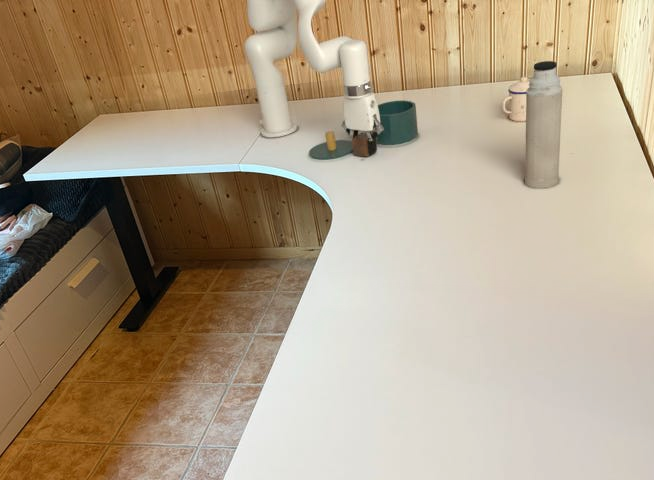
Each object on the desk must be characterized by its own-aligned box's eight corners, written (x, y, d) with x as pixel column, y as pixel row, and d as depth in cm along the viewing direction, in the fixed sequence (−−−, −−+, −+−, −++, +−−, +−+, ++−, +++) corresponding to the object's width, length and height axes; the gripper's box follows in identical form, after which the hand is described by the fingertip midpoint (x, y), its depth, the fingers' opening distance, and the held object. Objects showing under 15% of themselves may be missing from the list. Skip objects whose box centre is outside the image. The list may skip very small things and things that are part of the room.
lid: (300, 157, 207) (296, 137, 204) (333, 141, 214) (330, 121, 211) (331, 164, 198) (328, 144, 194) (365, 147, 205) (363, 127, 201)
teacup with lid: (528, 109, 210) (528, 71, 203) (545, 116, 203) (546, 76, 196) (494, 119, 207) (493, 80, 200) (510, 126, 200) (510, 86, 193)
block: (353, 154, 198) (351, 138, 195) (363, 148, 201) (361, 132, 198) (367, 156, 196) (365, 140, 193) (377, 150, 198) (375, 134, 195)
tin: (365, 143, 208) (361, 112, 203) (394, 128, 215) (391, 98, 209) (397, 149, 200) (394, 117, 194) (427, 134, 206) (424, 103, 200)
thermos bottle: (526, 175, 171) (528, 59, 154) (559, 174, 168) (564, 56, 151) (523, 188, 165) (524, 69, 148) (556, 187, 162) (562, 66, 146)
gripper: (390, 86, 185) (395, 150, 196) (342, 83, 194) (350, 144, 205) (374, 95, 180) (381, 160, 191) (326, 91, 190) (335, 153, 201)
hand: (365, 151), depth 198 cm, fingers closed on block, 5 cm apart
